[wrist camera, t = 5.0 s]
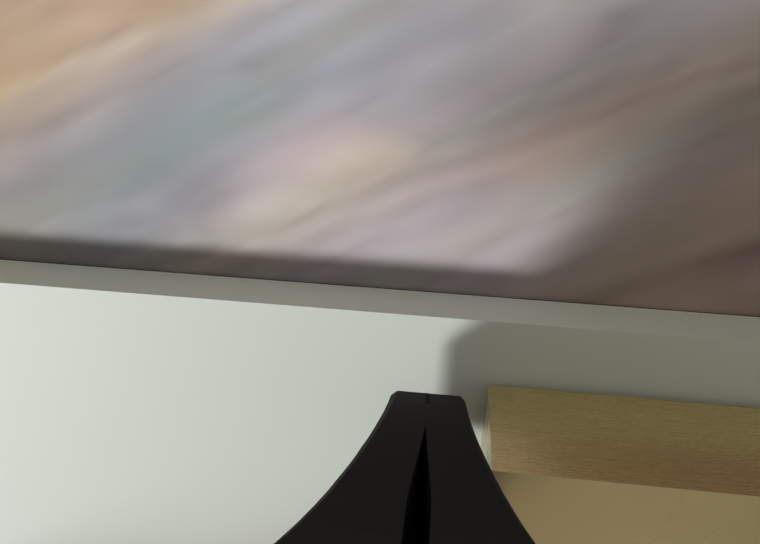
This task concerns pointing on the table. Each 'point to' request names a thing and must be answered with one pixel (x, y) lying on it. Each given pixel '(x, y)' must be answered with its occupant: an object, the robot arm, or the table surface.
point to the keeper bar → (624, 467)
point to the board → (281, 388)
